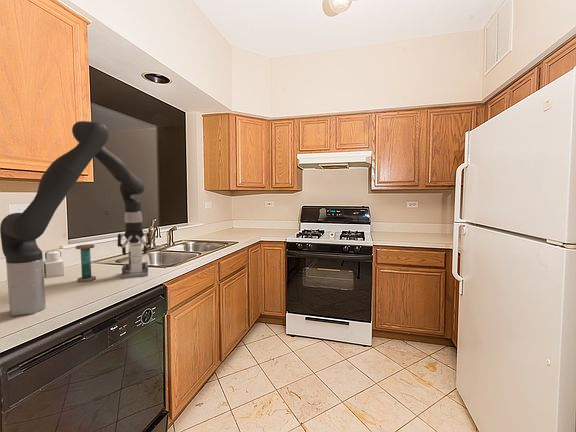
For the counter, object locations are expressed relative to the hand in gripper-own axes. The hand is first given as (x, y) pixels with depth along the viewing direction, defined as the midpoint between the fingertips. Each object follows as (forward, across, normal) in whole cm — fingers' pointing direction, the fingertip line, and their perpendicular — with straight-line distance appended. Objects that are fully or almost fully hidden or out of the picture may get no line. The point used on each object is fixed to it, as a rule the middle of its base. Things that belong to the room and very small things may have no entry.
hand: (134, 254), depth 145 cm
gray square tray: (+10, 0, 0) cm, 10 cm away
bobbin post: (+10, -20, -1) cm, 22 cm away
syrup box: (+9, 0, 0) cm, 9 cm away
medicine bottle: (+10, -36, +15) cm, 40 cm away
